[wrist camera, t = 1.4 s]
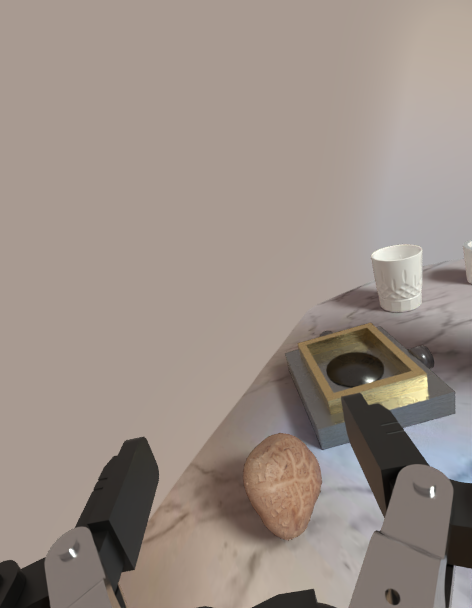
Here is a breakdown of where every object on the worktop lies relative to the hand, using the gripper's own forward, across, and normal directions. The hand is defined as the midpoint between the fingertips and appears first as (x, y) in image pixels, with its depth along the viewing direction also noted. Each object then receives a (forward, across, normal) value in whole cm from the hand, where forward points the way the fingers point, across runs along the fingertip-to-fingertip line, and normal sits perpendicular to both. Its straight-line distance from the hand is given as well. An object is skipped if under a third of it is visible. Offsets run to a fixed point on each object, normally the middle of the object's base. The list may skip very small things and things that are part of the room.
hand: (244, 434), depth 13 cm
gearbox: (+28, -12, +18) cm, 36 cm away
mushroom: (+12, 0, +20) cm, 23 cm away
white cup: (+46, -26, +17) cm, 55 cm away
